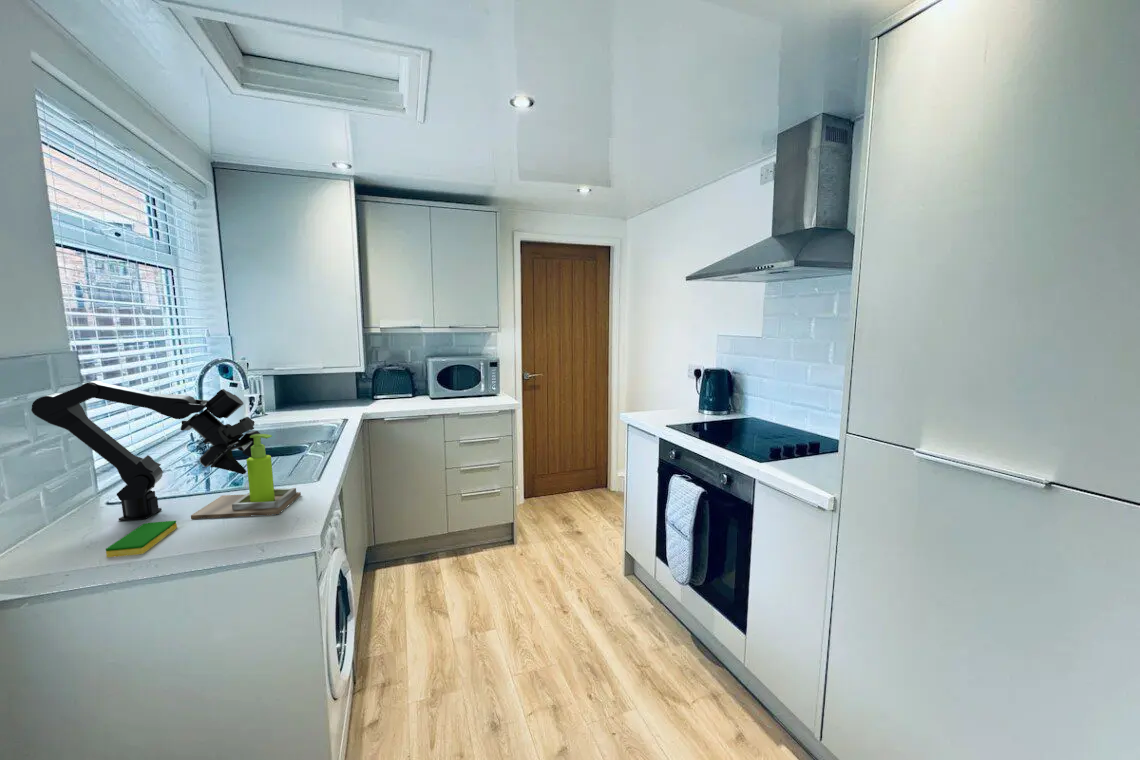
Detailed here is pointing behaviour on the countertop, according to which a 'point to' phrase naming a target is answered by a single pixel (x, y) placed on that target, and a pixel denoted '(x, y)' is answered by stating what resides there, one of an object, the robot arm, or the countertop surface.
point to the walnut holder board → (247, 505)
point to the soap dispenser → (260, 472)
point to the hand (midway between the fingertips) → (255, 467)
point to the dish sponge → (141, 539)
